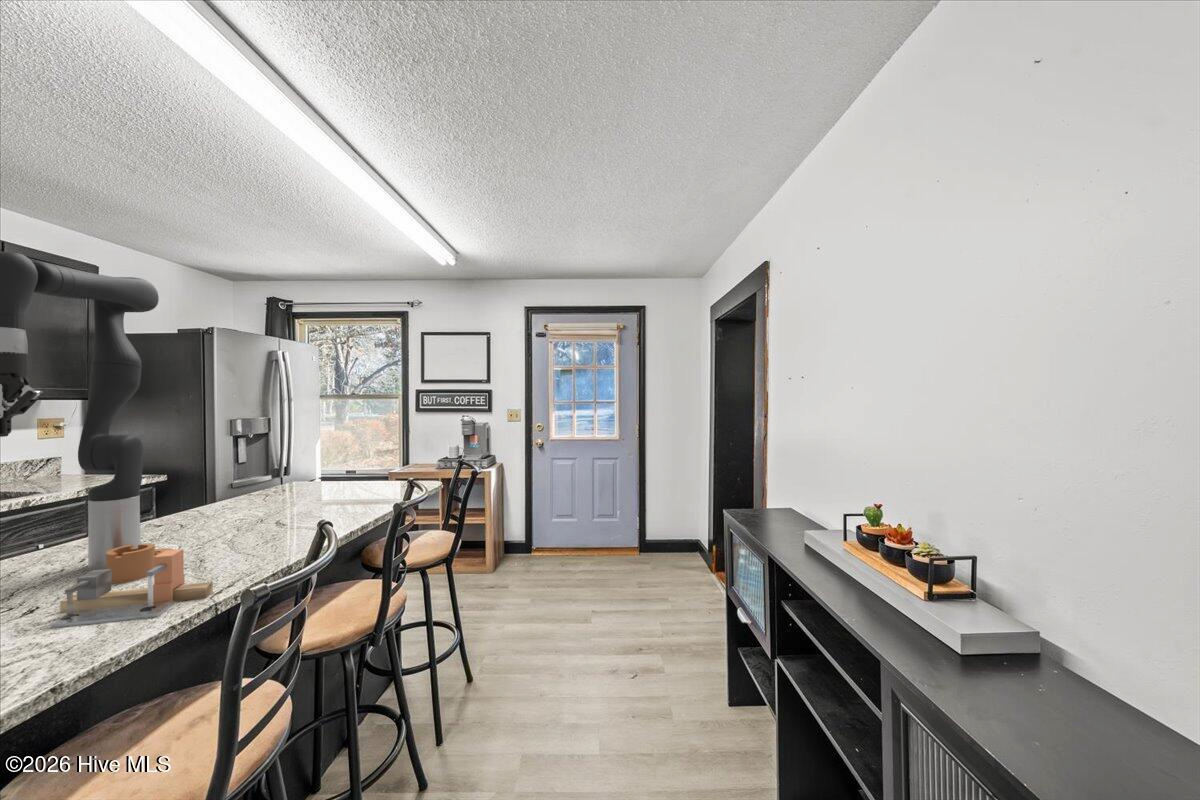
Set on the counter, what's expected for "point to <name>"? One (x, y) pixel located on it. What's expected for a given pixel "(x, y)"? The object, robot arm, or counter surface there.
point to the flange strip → (113, 614)
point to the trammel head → (165, 576)
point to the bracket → (131, 561)
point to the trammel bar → (119, 593)
